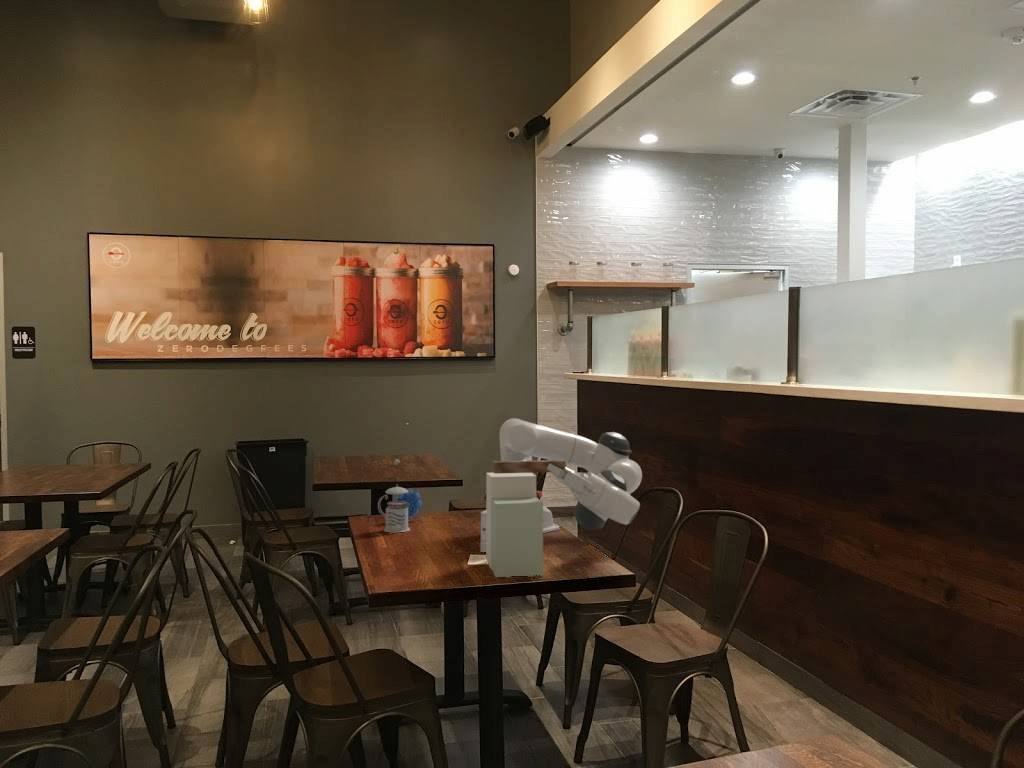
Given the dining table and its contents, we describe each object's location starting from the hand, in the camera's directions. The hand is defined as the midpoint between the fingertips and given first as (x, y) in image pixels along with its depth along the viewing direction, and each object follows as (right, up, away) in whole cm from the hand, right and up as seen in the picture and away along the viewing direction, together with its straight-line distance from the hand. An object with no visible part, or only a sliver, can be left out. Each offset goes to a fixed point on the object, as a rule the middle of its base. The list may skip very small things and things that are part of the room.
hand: (545, 464), depth 214 cm
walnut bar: (-5, -2, -1) cm, 5 cm away
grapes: (-49, -29, +72) cm, 92 cm away
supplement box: (-15, -30, +24) cm, 41 cm away
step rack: (-9, -30, +4) cm, 31 cm away
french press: (-51, -29, +55) cm, 80 cm away
